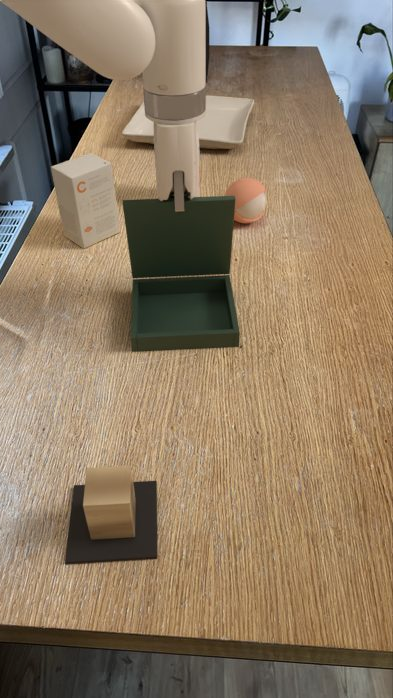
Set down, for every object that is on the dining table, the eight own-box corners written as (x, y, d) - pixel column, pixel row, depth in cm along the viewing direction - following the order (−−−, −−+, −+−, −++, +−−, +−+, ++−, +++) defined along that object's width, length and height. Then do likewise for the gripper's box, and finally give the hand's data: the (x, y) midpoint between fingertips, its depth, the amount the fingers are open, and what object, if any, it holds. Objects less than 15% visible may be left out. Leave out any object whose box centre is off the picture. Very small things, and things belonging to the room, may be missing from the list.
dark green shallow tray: (239, 350, 81) (239, 332, 78) (132, 356, 80) (130, 337, 78) (229, 292, 91) (229, 274, 89) (134, 296, 90) (132, 279, 88)
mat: (74, 487, 64) (73, 485, 64) (156, 482, 65) (156, 480, 64) (65, 564, 57) (64, 562, 57) (157, 558, 58) (157, 556, 58)
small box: (100, 220, 108) (90, 151, 100) (120, 232, 105) (113, 162, 96) (62, 236, 104) (49, 165, 95) (83, 249, 101) (71, 178, 92)
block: (135, 537, 59) (129, 503, 55) (91, 539, 59) (82, 505, 55) (135, 500, 62) (130, 465, 58) (94, 502, 62) (86, 467, 58)
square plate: (121, 149, 132) (119, 132, 129) (150, 106, 152) (149, 91, 150) (241, 157, 128) (242, 139, 126) (254, 112, 148) (255, 96, 146)
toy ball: (250, 236, 103) (252, 194, 98) (214, 223, 107) (215, 182, 102) (274, 217, 108) (277, 177, 103) (239, 206, 112) (241, 166, 106)
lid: (235, 199, 76) (235, 195, 76) (122, 203, 75) (122, 199, 76) (229, 274, 88) (229, 270, 89) (132, 278, 88) (132, 274, 88)
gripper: (144, 83, 77) (152, 209, 89) (144, 125, 66) (153, 263, 78) (201, 81, 77) (201, 207, 90) (210, 123, 66) (209, 261, 78)
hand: (179, 233), depth 84 cm, fingers closed
